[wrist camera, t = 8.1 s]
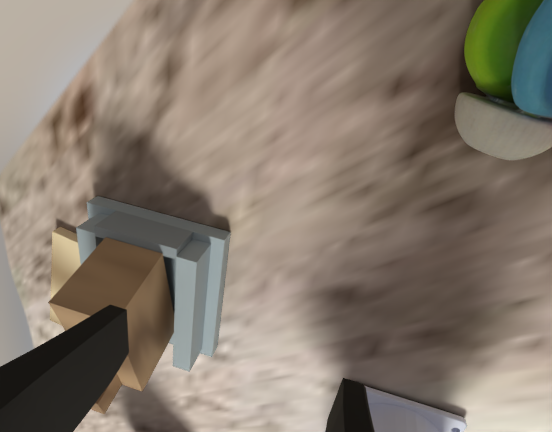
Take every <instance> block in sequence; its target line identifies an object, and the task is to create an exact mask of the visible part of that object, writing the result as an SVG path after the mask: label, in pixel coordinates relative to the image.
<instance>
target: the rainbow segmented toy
mask: <svg viewBox="0 0 552 432" xmlns="http://www.w3.org/2000/svg"><path fill="white" fill-rule="evenodd" d="M464 55H465V61H466V65H467V68H468V70H469V73H470V75H471V77H472V78H473V80H474V82H475V83H476V87H477V88H478V89H479V90H480V91H482V92H483V93H485V94H486V95H487V96H486V97H484V96H480V95H476V94H472V93H467V92H462V93H460V94H459V95H458V97H457V100H456V105H455V123H456V126H457V129H458V132H459V134H460V136H461V137H462V139H463V140H464V141H465V142H466V143H467V144H468V145H469V146H471V147H472V148H474V149H476V150H478V151H480V152H483V153H485V154H488V155H491V156H494V157H497V158H500V159H505V160H519V159H525V158H528V157H532V156H535V155H538V154H540V153H542V152H544V151H546V150H548V149H549V148H551V147H552V0H484V1H483V2H482V3H481V4H480V6H479V7H478V9H477V10H476V12H475V14H474V16H473V18H472V20H471V22H470V25H469V28H468V30H467V34H466V38H465V45H464Z"/></svg>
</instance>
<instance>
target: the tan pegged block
mask: <svg viewBox="0 0 552 432" xmlns="http://www.w3.org/2000/svg"><path fill="white" fill-rule="evenodd" d="M48 303H49V304H50V306H51V308H52V309H53V311H54V313H55V314H56V316H57V318H58V319H59V321H60V322H61V324H62V326H63V327H64V329H65V331H66V330H68V329H70V328H71V327H73V326H75V325H76V324H78V323H80V322H81V321H83V320H85V319H86V318H88V317H90V316H91V315H93V314H95V313H96V312H98V311H100V310H101V309H103V308H105V307H107V306H108V305H110V304H111V305H114V306H117V307H120V308H123V309H126V310H127V322H128V341H129V354H128V355H127V357H126V359H125V360H124V362H123V364H122V365H121V367H120V369H119V370H118V372H117V374H116V375H115V377H114V378H113V380H112V382H111V383H110V384H109V386H108V387H107V388H106V390H105V391H104V392H103V394H102V395H101V396H100V397H99V399H98V400H97V401H96V403H95V404H94V405H93V407H92V408H91V409H92V410H94V411H97V412H100V413H102V414H105V412H106V411H107V409H108V407H109V406H110V404H111V402H112V400H113V399H114V397H115V395H116V394H117V392H118V390H119V388H120V387H121V385H125V386H128V387H131V388H134V389H136V390H139V391H143V389H144V388H145V386H146V384H147V382H148V380H149V378H150V376H151V374H152V373H153V371H154V369H155V367H156V365H157V363H158V361H159V360H160V358H161V356H162V354H163V352H164V350H165V348H166V347H167V345H168V343H169V341H170V339H171V337H172V335H173V333H174V312H173V307H172V301H171V296H170V291H169V285H168V280H167V274H166V269H165V264H164V258H163V254H162V253H159V252H155V251H152V250H148V249H145V248H142V247H138V246H135V245H131V244H128V243H124V242H121V241H117V240H114V239H110V238H107V237H105V238H104V239H103V241H102V242H101V243H100V244H99V245H98V246H97V247H96V249H95V250H94V251H93V252H92V253H91V254H90V255H89V257H88V258H87V259H86V260H85V261H84V262H83V263H82V265H81V266H80V267H79V268H78V269H77V270H76V271H75V273H74V274H73V275H72V276H71V277H70V278H69V279H68V281H67V282H66V283H65V284H64V285H63V286H62V287H61V289H60V290H59V291H58V292H57V293H56V294H55V295H54V296H53V298H52V299H51V300H50V301H49V302H48Z"/></svg>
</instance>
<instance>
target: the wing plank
mask: <svg viewBox="0 0 552 432" xmlns="http://www.w3.org/2000/svg"><path fill="white" fill-rule="evenodd" d="M80 266H81V263H80V255H79V247H78V239H77V234H75V233H73V232H71V231H69V230H66V229H64V228H62V227H59V228H57V229H56V230H54V231H53V232H52V268H51V299H52V298H53V296H54V295H55V294H56V293H57V292H58V291H59V290H60V289H61V287H62V286H63V285H64V284H65V283H66V282H67V281H68V279H69V278H70V277H71V276H72V275H73V274H74V273H75V271H76V270H77V269H78V268H79V267H80ZM50 320H51V321H53V322H56V323H58V324H60V325H62V324H61V322H60V321H59V319H58V318H57V316H56V314H55V313H54V311H53V309H52V308H51V306H50Z"/></svg>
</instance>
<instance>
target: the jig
mask: <svg viewBox="0 0 552 432" xmlns="http://www.w3.org/2000/svg"><path fill="white" fill-rule="evenodd" d="M87 208H88V218H89V220H87V221H86V222H84V223H83V224H81V225H80V226H78V227H77V228H76V231H77V239H78V247H79V255H80V263H81V265H82V263H83V262H84V261H85V260H86V259H87V258H88V257H89V255H90V254H91V253H92V252H93V251H94V250H95V249H96V247H97V246H98V245H99V244H100V243H101V242H102V241H103V239H104V238H105V237H107V238H110V239H114V240H117V241H121V242H124V243H128V244H131V245H135V246H138V247H142V248H145V249H148V250H152V251H155V252H159V253H162V254H163V258H164V264H165V269H166V274H167V280H168V285H169V291H170V296H171V301H172V307H173V312H174V333H173V335H172V337H171V339H170V341H169V343H170V344H174V345H173V366H174V367H177V368H180V369H183V370H186V371H189V372H190V370H191V368H192V366H193V364H194V362H195V361H196V359H197V357H198V355H199V353H201V354H204V355H208V356H211V357H212V356H213V354H214V352H215V350H216V348H217V345H218V336H219V328H220V319H221V310H222V302H223V293H224V285H225V276H226V268H227V259H228V250H229V242H230V233H231V232H228V231H225V230H221V229H217V228H214V227H210V226H206V225H203V224H199V223H195V222H192V221H188V220H184V219H181V218H177V217H173V216H170V215H166V214H162V213H159V212H155V211H151V210H147V209H144V208H140V207H136V206H133V205H129V204H125V203H122V202H118V201H114V200H111V199H107V198H103V197H100V196H97V197H95V198H93V199H92V200H90V201H88V202H87Z"/></svg>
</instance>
